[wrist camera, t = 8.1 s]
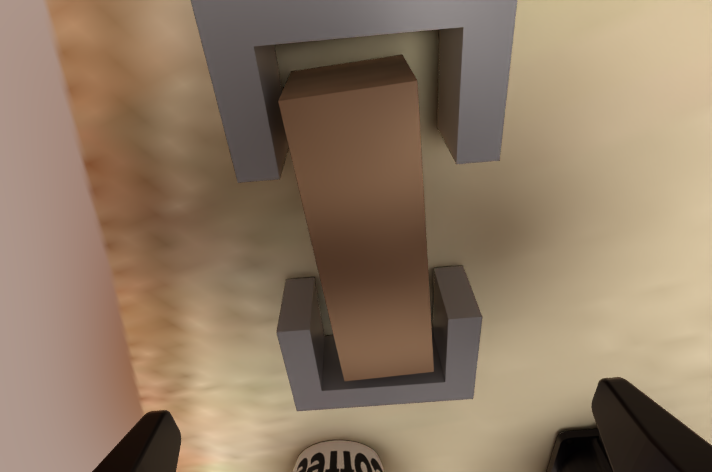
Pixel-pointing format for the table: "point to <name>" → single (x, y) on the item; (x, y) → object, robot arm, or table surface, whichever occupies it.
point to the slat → (365, 209)
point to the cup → (338, 458)
